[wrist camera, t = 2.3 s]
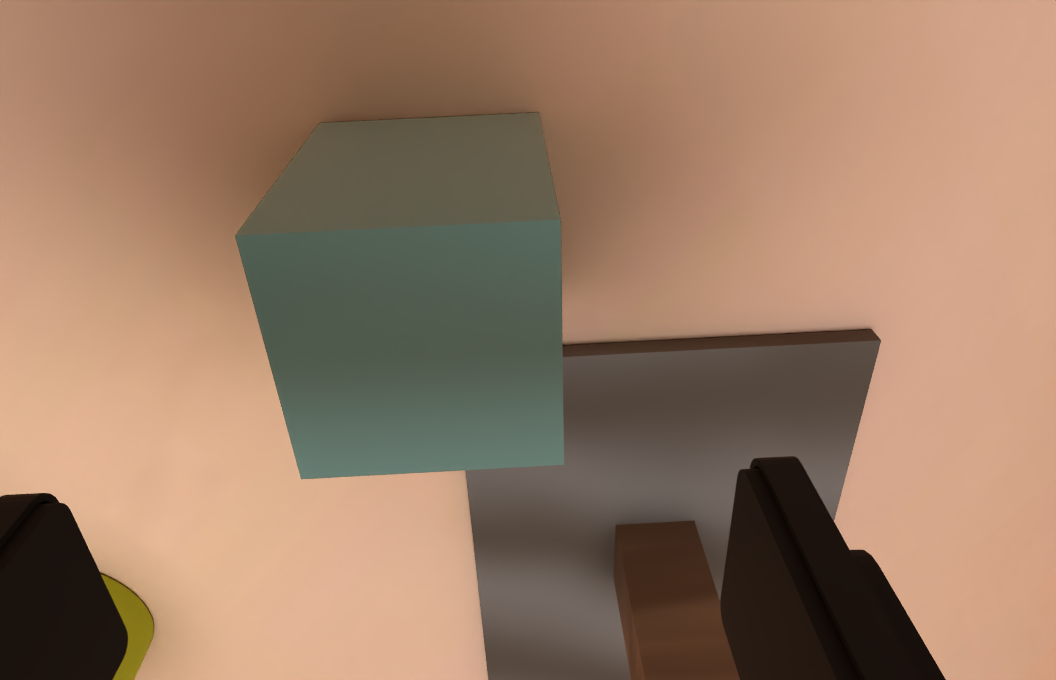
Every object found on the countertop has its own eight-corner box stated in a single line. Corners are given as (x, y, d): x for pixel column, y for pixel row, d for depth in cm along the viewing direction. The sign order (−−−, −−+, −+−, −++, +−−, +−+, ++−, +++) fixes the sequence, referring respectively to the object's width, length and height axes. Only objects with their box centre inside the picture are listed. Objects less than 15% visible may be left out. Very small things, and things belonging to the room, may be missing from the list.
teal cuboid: (319, 122, 17) (235, 235, 12) (539, 112, 17) (560, 219, 12) (355, 313, 20) (301, 479, 14) (544, 303, 20) (563, 464, 14)
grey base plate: (455, 351, 21) (439, 537, 15) (871, 329, 21) (1022, 504, 15) (490, 684, 29) (489, 888, 23) (787, 667, 29) (861, 865, 23)
